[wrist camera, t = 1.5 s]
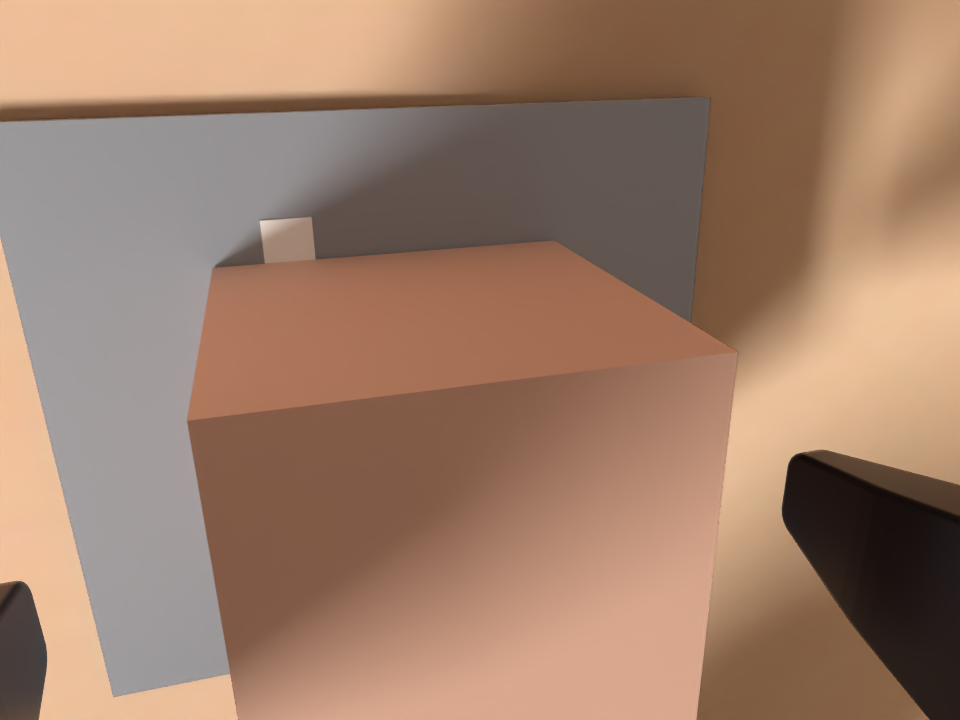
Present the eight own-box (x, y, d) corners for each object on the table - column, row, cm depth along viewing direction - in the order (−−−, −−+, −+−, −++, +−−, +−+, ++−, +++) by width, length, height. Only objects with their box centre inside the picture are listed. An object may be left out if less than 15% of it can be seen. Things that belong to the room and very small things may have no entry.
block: (548, 518, 14) (693, 742, 9) (256, 569, 13) (261, 855, 8) (554, 239, 12) (738, 351, 7) (212, 267, 11) (186, 421, 6)
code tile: (661, 577, 15) (668, 586, 15) (115, 686, 13) (113, 698, 13) (702, 96, 12) (711, 97, 12) (-22, 122, 10) (-28, 123, 9)
